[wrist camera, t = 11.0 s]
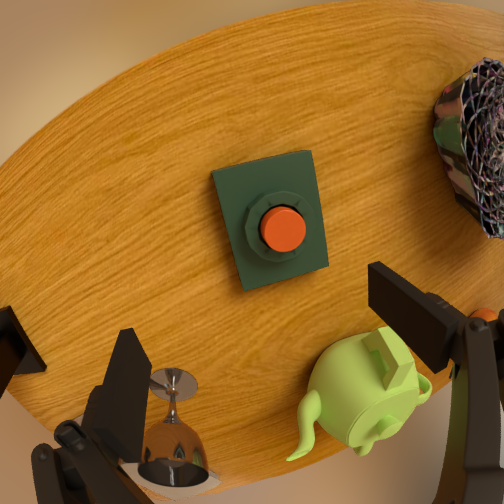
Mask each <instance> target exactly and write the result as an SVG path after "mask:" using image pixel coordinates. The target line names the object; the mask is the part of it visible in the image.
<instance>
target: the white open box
mask: <svg viewBox="0 0 504 504" xmlns="http://www.w3.org/2000/svg"><path fill="white" fill-rule="evenodd" d="M137 464H138V463H125V462H124V461H123V460H122V459H121V467H122V468H123V469H124V470H125V472H126V473H127V474H128V475H129V476H130V478H131V479H132V480H133V481H134V482H136V483H138V484H139V485H141V486H143V487H145V488H147V489H149V490H151V491H154V492H156V493H158V494H160V495H162V496H164V497H167V498H169V499H171V500H174V501H176V500H181V499H185V498H189V497H192V496H195V495H198V494H201V493H204V492H206V491H208V490H210V489H213V488H214V487H216V486H218V485H219V484H221V483H222V481H220V480H218V478H219V476H218V475H217V474H215V473H213V472H212V471H210V470H209V478H208V479H207V480H206V481H205V482H204V483H202V484H199V485H196V486H191V487H180V488H178V487H166V486H161V485H157V484H154V483H151V482H149V481H147V480H145V479H143V478H142V477H141V476H140V475H139V474H138V471H137Z"/></svg>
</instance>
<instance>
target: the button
mask: <svg viewBox="0 0 504 504" xmlns="http://www.w3.org/2000/svg"><path fill="white" fill-rule="evenodd" d="M260 230H261V234H262V237H263V238H264V240H265V241H266V243H267V244H268V245H269V246H270V247H271V248H272V249H274V250H276V251H279V252H288V251H291V250H293V249H295V248H297V247H298V246H299V245H300V244H301V242H302V241H303V239H304V237H305V233H306V226H305V222H304V220H303V218H302V217H301V216H300V215H299V214H298V213H296V212H295V211H293V210H292V209H290V208H288V207H276V208H273V209H271V210H270V211H268V212H267V213H266V214H265V216H264V217H263V219H262V221H261V226H260Z"/></svg>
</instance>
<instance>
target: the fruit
mask: <svg viewBox="0 0 504 504" xmlns="http://www.w3.org/2000/svg"><path fill="white" fill-rule="evenodd" d="M471 317H480V318H483V319H485V320H486V321H487V322H489V321H492V320H496V319H497V316H496V314H495V313H494V312H493V311H492V310H490V309H487V308H481V309H479V310H477V311H475V312H474V313H473V314H472V315H471V316H470V318H471Z"/></svg>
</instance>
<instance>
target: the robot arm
mask: <svg viewBox="0 0 504 504" xmlns="http://www.w3.org/2000/svg"><path fill="white" fill-rule="evenodd" d="M368 306H369V307H370V308H371V309H372V310H373V311H374V312H375V313H376V314H377V315H378V316H379V317H380V318H381V319H382V320H383V321H384V322H385V323H386V324H387V325H388V326H389V327H390V328H391V329H392V330H393V331H394V332H395V333H396V334H397V335H398V336H399V337H400V338H401V339H402V340H403V341H404V342H405V343H406V344H407V345H408V346H409V347H410V348H411V349H412V351H413V352H414V353H415V354H416V355H417V356H418V357H419V358H420V359H421V360H422V361H423V362H424V363H425V364H426V365H427V366H428V368H429V369H430V370H431V371H432V372H433V373H434V374H436V373H438V372H440V371H441V370H443V369H445V368H446V367H447V365H448V361H449V358H451V359H452V360H453V361H454V364H453V367H452V370H451V373H450V376H449V378H450V379H451V377H452V397H451V398H452V399H451V411H450V422H449V430H448V438H447V445H446V452H445V458H444V463H443V468H442V473H441V478H440V482H439V486H438V490H437V494H436V497H435V499H434V501H433V503H432V504H502V500H503V494H504V469H503V468H501V467H500V465H499V461H500V441H501V417H500V416H501V415H500V401H501V404H502V407H503V411H504V309H502V310H501V311H500V312H499V316H498V319H496V320H492V321H489V322H487V321H486V320H485V319H483V318H480V317H471V318H468V317H466V316H465V315H464V314H463V313H461V312H460V311H459V310H457V309H456V308H455V307H453V306H452V305H450V304H449V303H448V302H446V301H445V300H444V299H442V298H441V297H440V296H438V295H436V294H433V293H430V292H428V293H426V294H425V293H423V292H422V291H421V290H419V289H418V288H416V287H415V286H414V285H412V284H411V283H410V282H408V281H407V280H405V279H404V278H403V277H401V276H400V275H398V274H397V273H396V272H394V271H393V270H391V269H390V268H389V267H387V266H386V265H384V264H383V263H381V262H380V261H377V262H374V263H371V264H368ZM151 368H152V365H151V363H150V361H149V359H148V357H147V355H146V353H145V351H144V350H143V348H142V346H141V344H140V342H139V340H138V338H137V336H136V334H135V332H134V330H133V328H128V329H124V330H120V332H119V335H118V338H117V341H116V344H115V347H114V350H113V353H112V356H111V359H110V362H109V365H108V368H107V371H106V375H105V378H104V381H103V385H98V386H95V388H94V389H93V390H92V392H91V393H90V396H89V399H88V403H87V405H86V410H85V412H84V415H83V419H82V422H81V426H80V425H79V424H78V423H77V422H76V421H74V420H66V421H64V422H62V423H60V424H59V425H58V426H57V428H56V429H55V432H54V439H55V441H56V442H57V443H58V444H60V445H61V446H62V447H61V448H57V449H53V448H52V447H51V446H50V445H48V444H45V443H43V444H39V445H38V446H36V447H35V448H34V449H33V452H32V454H31V462H32V470H33V477H34V484H35V490H36V496H37V501H38V504H96V503H95V501H94V498H95V499H96V501H97V502H98V504H154V503H153V502H152V501H151V500H150V499H149V498H148V497H147V495H146V494H145V493H144V492H143V491H142V490H141V489H140V488H139V487H138V486H137V484H136V483H135V482H134V481H133V480H132V479H131V478H130V476H129V475H128V474H127V473H126V472H125V470H124V469H123V468H122V467H121V466H120V465H119V464H118V463H119V457H120V458H121V459H122V460H123V461H124V462H125V463H141V462H142V448H143V436H144V425H145V416H146V407H147V398H148V390H149V383H150V375H151ZM93 496H94V498H93Z"/></svg>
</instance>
